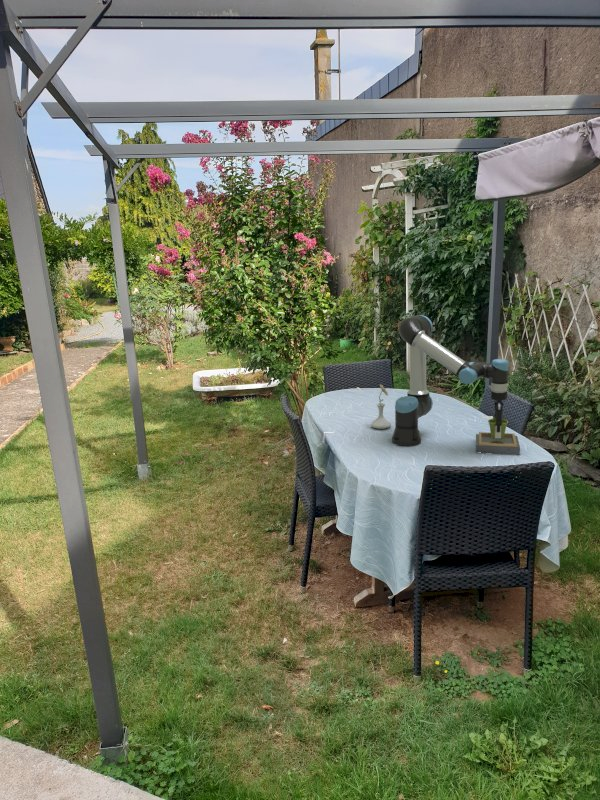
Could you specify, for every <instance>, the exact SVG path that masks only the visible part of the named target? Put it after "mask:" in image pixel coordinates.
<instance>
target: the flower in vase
mask: <svg viewBox="0 0 600 800" xmlns="http://www.w3.org/2000/svg"><path fill="white" fill-rule="evenodd" d="M379 388H380V390H381V392H380V394H379V396H378V400H379V403H376V407H377V410H378V417H377V418H375V420H373V421H372V422H371V424H370V426H371V427H372V428H374V429H378V430H384V429H388V428H390V427H391V426H392V424H391V422H390V421H389V420H388V419H386V417H384V414H383V413H384V407H385V406H386V404H385V403H382V402H383V401H384V399H382V398H381V395H382V393H383V394H384V395H385V396H386V397H388V396H389V394H388V391H387V390H386V388H385V387H384V385H383V384H379Z"/></svg>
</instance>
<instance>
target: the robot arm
mask: <svg viewBox="0 0 600 800" xmlns="http://www.w3.org/2000/svg"><path fill="white" fill-rule="evenodd" d="M432 332H433V322H432V321H431V319H430V318H429V317H427V316H426V315H423V314H422V315H420V314H419V315H418V314H417V315H414V316H411V317H407V318H406V317H405V318H404V319H403V320H402V321H400V323H399V325H398V333H399V336H400V338H402V340H403V341H404V342H405V343H406V344H408V345H409V390H408V391H407V394H406V396H405V395H404V396H401V397H399V398H397V399H396V400H395V404H394V413H395V415H394V416H395V417H394V419H395V424H394V425H395V428H394V431H393V434H392V435H391V442H392V444H393V445H397V446H399V447H400V446H403V447H414V446H418V445H421V443H422V437H421V432H420V429H419V418H421V417H423V416H426V415H427V414H429V413H430V412H431V410H432V408H433V404H434V402H433V398H432V397H431V395H430V391H429V390H428V389H427V356H429V357H430V358H432V359H433V360H434V361H436V362H438V363H439V364H440V365H442V366H443V367H444V368H446V369H447V370H449V371H450V372H452V373H453V374H454V375H456V376H457V377H458V379H459V381H460V383H462V384H464V385H470V384H473V383H475V382H476V381H478V380H480V379H491V381H490V383H491V384H490V390H491V391H490V399H491V400H493V401H494V403H493V404H494V419H496V424H494V426H495V438H501V426H502V419H503V411H504V410H503V407H504V401H505V400H506V401H507V399H508V387H509V386H510V384H509V383H508V382H509V381H508V380H509V361H508V360H507V359H505V358H504V359H503V358H496V359H493V360H492V361H491V362H480V361H470V362H466V361H465V360H464V359H462V358H461V357H459V355H458V356H457V354H455V353H453V352H452V351H451V350H449V349H447V347H445V346H443V345H442V344H441V343H439V342H437V341H436V340H435V339H433V338H431V336H430V335H431V333H432Z"/></svg>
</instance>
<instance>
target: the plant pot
mask: <svg viewBox="0 0 600 800" xmlns="http://www.w3.org/2000/svg"><path fill="white" fill-rule="evenodd" d="M487 422H488V425H489V433H491V438H493V439H503V438H504V435H505V433H506V429H507V425H508V424H509V421H508V420H507V419H503V418H502V426H501V438H495V426H494V424H496V419H495V418H490V419H488V420H487Z"/></svg>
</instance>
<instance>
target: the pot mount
mask: <svg viewBox="0 0 600 800" xmlns="http://www.w3.org/2000/svg"><path fill="white" fill-rule="evenodd" d="M476 452H481V453H480V454H486V453H492V454H493V455H505V456H506V455H508V456H509V455H510V456H511V455H512V456H520V452H521V447H520V442H519V438H518V435H516V434H515V433H509V432H508V433H507V432H505V435H504V438H503V439H493V438H491V432H488V431H487V432H483V431H481V432H479V431H478V433H475V453H476ZM492 454H491V455H492Z"/></svg>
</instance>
